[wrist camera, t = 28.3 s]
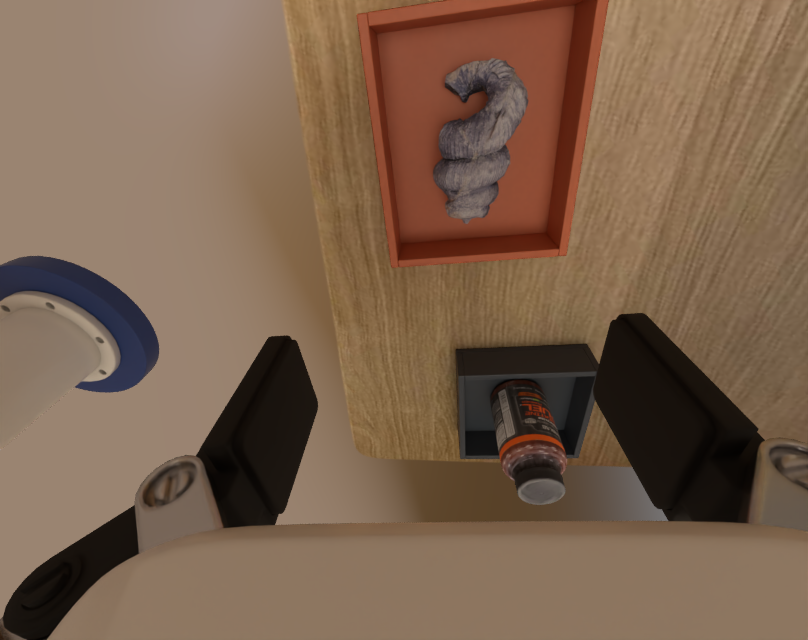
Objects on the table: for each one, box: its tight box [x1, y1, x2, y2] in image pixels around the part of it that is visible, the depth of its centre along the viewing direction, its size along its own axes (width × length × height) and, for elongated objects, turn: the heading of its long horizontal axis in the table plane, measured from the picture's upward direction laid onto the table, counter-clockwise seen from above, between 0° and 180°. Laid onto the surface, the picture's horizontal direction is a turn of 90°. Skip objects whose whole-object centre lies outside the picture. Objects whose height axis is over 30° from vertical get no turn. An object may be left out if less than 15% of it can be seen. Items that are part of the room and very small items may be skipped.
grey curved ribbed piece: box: [433, 58, 529, 224], centre depth 23 cm, size 5×5×10 cm
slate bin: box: [456, 344, 599, 459], centre depth 38 cm, size 13×13×4 cm
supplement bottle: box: [490, 379, 567, 505], centre depth 34 cm, size 6×6×11 cm
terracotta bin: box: [357, 0, 609, 268], centre depth 24 cm, size 13×15×4 cm
